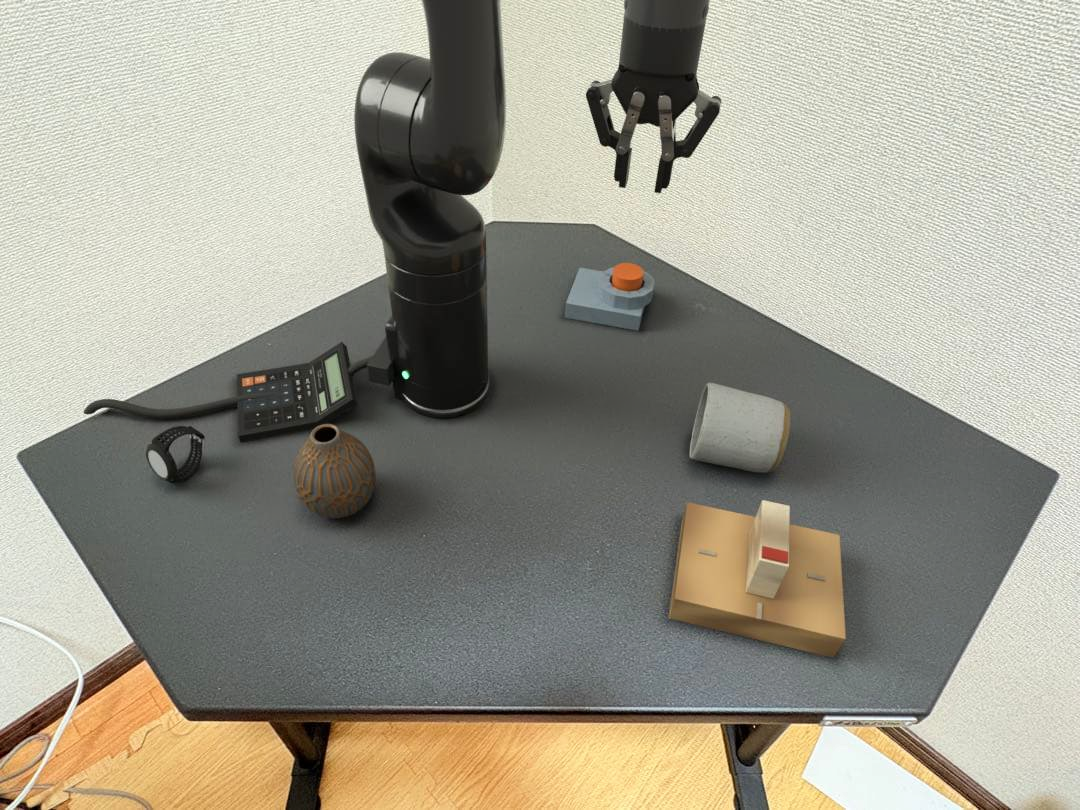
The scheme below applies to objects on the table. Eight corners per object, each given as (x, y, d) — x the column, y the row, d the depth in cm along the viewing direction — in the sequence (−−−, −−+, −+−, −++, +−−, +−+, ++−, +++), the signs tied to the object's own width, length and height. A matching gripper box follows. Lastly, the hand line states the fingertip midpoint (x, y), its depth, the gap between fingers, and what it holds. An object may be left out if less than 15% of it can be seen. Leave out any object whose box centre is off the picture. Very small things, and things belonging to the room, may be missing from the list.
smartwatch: (153, 470, 68) (134, 433, 65) (209, 449, 70) (194, 412, 67) (164, 499, 66) (145, 462, 62) (222, 476, 68) (207, 439, 64)
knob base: (668, 619, 59) (674, 598, 57) (681, 521, 66) (687, 499, 64) (833, 659, 57) (846, 639, 55) (828, 554, 64) (840, 532, 62)
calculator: (238, 380, 77) (231, 358, 75) (349, 362, 80) (345, 341, 78) (240, 442, 71) (232, 420, 69) (360, 420, 74) (356, 398, 72)
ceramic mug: (773, 491, 69) (796, 434, 64) (686, 475, 70) (702, 417, 65) (771, 417, 77) (791, 360, 71) (693, 403, 78) (707, 346, 72)
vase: (295, 483, 67) (275, 416, 61) (369, 463, 70) (357, 396, 64) (309, 540, 63) (289, 474, 57) (387, 517, 65) (376, 450, 59)
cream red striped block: (749, 533, 62) (763, 497, 58) (775, 539, 61) (791, 503, 58) (745, 592, 57) (759, 558, 54) (773, 599, 57) (790, 564, 54)
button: (609, 289, 86) (610, 276, 85) (614, 273, 88) (616, 260, 87) (639, 294, 85) (641, 281, 84) (643, 277, 88) (645, 265, 87)
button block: (564, 317, 88) (566, 290, 85) (578, 281, 93) (580, 254, 91) (644, 332, 86) (649, 304, 83) (653, 294, 92) (658, 267, 89)
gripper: (745, 9, 68) (708, 181, 80) (597, -7, 70) (583, 163, 82) (741, 33, 63) (703, 214, 75) (582, 15, 65) (569, 193, 77)
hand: (640, 186), depth 78 cm, fingers open, 3 cm apart
